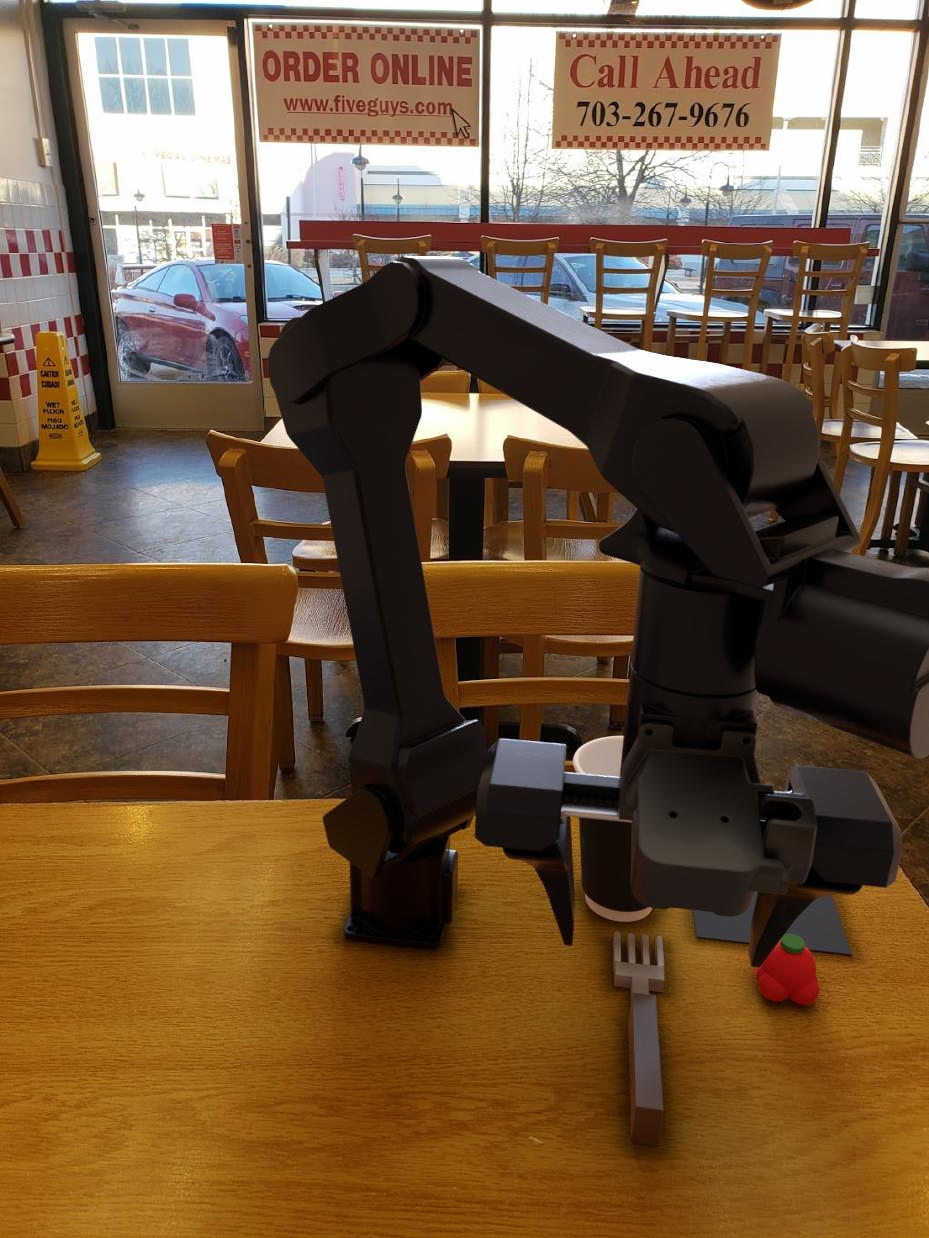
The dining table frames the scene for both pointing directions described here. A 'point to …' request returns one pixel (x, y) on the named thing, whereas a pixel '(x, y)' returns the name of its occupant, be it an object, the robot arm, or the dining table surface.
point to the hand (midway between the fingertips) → (660, 950)
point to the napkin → (812, 926)
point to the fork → (642, 1036)
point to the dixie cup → (606, 842)
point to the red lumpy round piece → (789, 972)
